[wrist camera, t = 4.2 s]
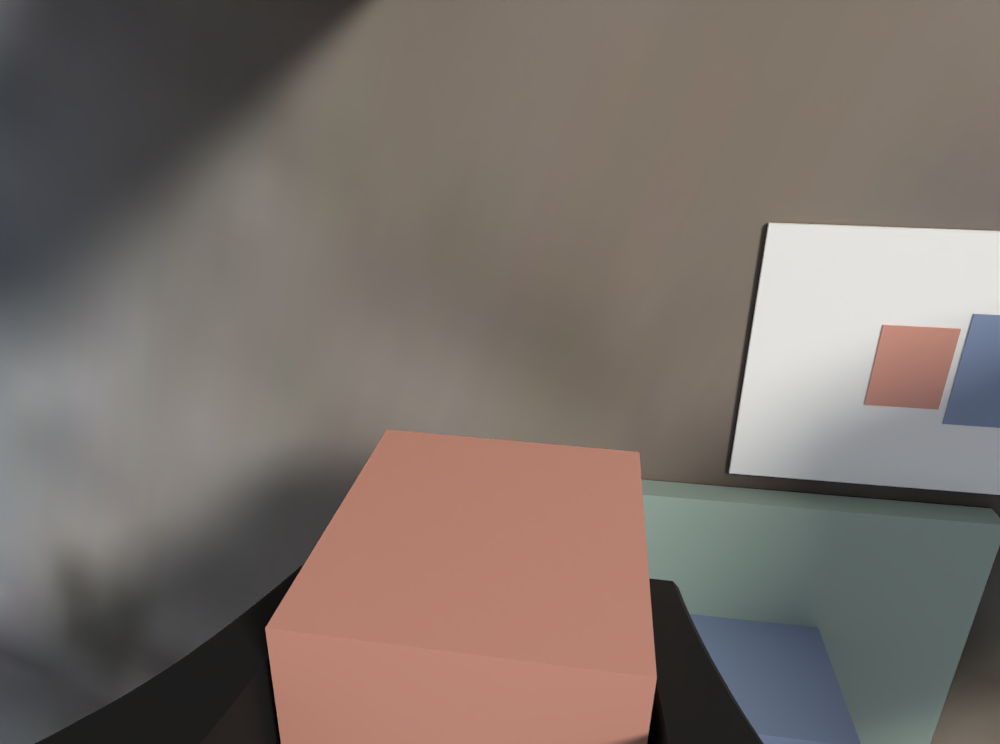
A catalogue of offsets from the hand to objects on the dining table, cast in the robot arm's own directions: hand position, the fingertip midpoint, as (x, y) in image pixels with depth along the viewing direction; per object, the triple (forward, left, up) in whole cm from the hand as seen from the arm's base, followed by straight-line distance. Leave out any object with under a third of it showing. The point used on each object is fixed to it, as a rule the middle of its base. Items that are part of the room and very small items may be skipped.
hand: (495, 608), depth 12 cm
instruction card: (-10, -1, -9) cm, 14 cm away
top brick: (0, 0, -2) cm, 2 cm away
